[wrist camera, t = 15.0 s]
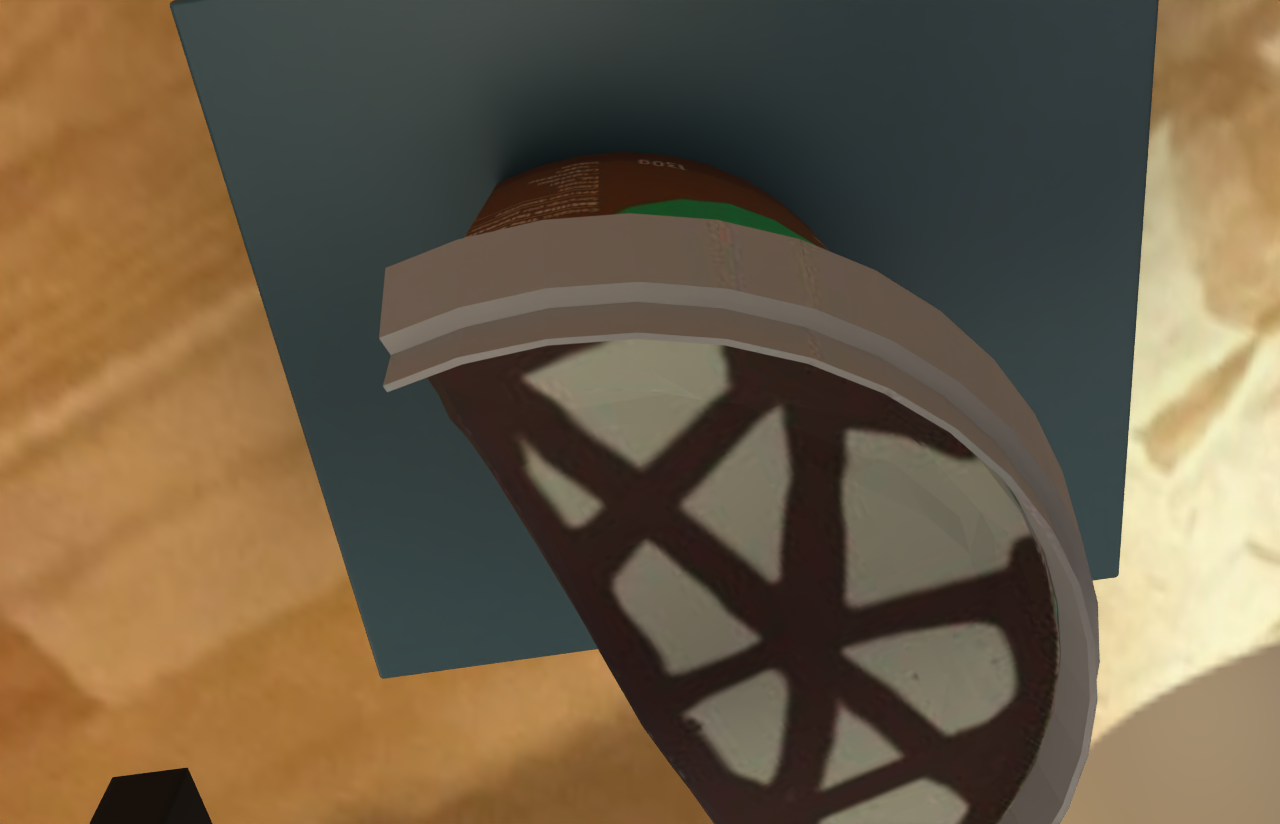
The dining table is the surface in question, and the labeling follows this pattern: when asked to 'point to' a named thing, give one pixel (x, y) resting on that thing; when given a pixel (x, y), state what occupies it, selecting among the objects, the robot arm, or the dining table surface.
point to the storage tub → (689, 129)
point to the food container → (768, 495)
